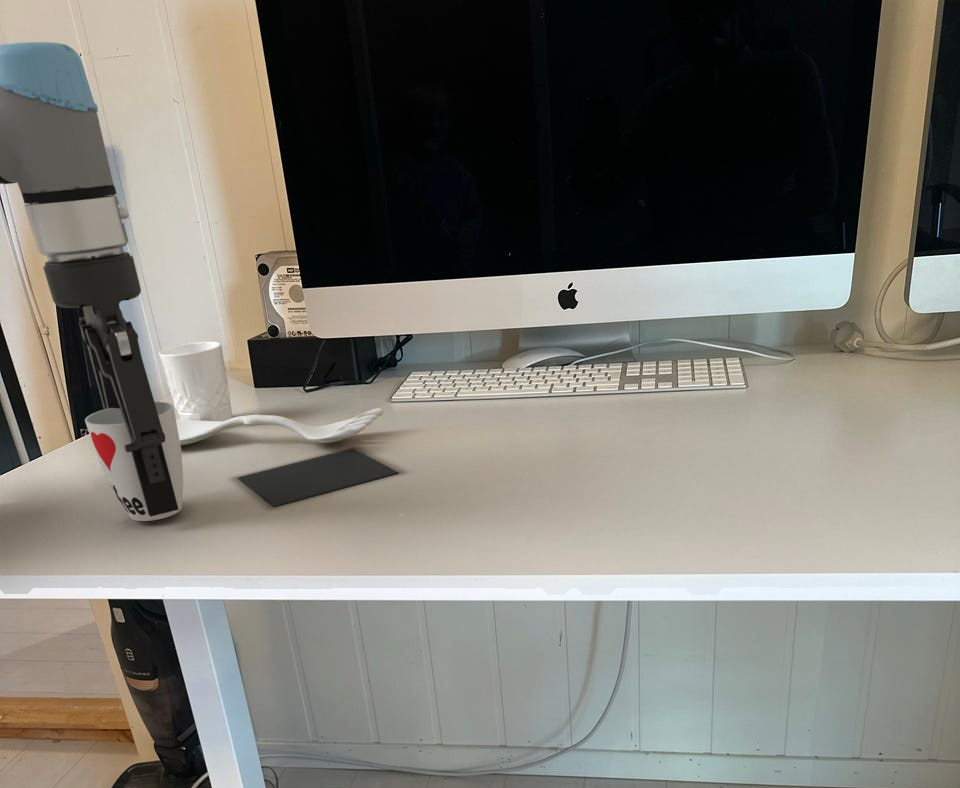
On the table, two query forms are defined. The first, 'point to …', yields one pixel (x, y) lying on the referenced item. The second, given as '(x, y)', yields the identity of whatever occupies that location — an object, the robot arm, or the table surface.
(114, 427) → the cup
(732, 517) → the table surface
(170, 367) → the white cup
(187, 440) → the spoon
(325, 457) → the mat
